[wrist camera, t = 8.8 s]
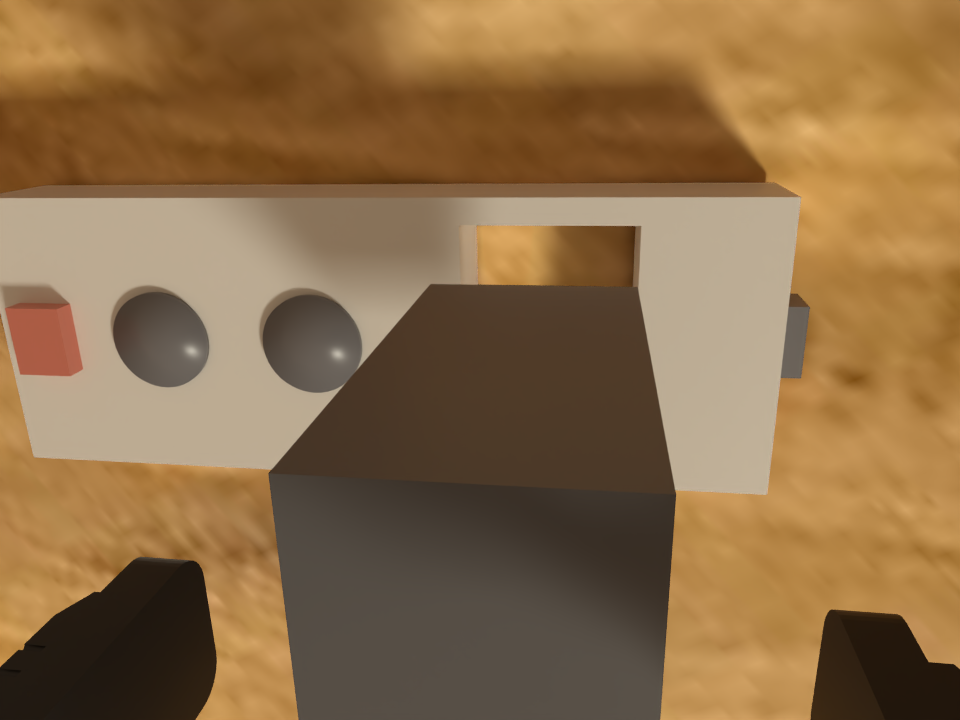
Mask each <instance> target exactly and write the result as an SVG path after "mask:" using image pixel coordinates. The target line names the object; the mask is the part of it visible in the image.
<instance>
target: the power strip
mask: <svg viewBox="0 0 960 720" xmlns="http://www.w3.org/2000/svg"><path fill="white" fill-rule="evenodd" d="M800 203H801V197H800V196H798V195H796V194H794V193H793V192H791V191H789V190H787V189H786V188H784V187H782V186H780V185H778V184H777V183H515V184H253V185H44V186H39V187H33V188H28V189H22V190H17V191H11V192H5V193H0V313H1V318H2V322H3V326H4V331H5V335H6V339H7V343H8V348H9V352H10V356H11V361H12V365H13V369H14V374H15V378H16V382H17V387H18V391H19V395H20V399H21V404H22V408H23V412H24V417H25V421H26V425H27V430H28V434H29V438H30V442H31V447H32V451H33V455H34V457H39V458H59V459H79V460H98V461H118V462H137V463H157V464H176V465H196V466H215V467H235V468H254V469H273V467H274V466H275V465H276V464H277V463H278V462H279V460H280V459H281V458H282V457H283V456H284V455H285V453H286V452H287V451H288V450H289V449H290V448H291V446H292V445H293V444H294V443H295V442H296V441H297V439H298V438H299V437H300V436H301V435H302V434H303V432H304V431H305V430H306V429H307V428H308V427H309V425H310V424H311V423H312V422H313V421H314V420H315V418H316V417H317V416H318V415H319V414H320V413H321V411H322V410H323V409H324V408H325V407H326V406H327V404H328V403H329V402H330V401H331V400H332V398H333V397H334V396H335V395H336V394H337V393H338V391H339V390H340V389H341V388H342V387H343V386H344V384H345V383H346V382H347V381H348V380H349V379H350V377H351V376H352V375H353V374H354V373H355V372H356V370H357V369H358V368H359V367H360V366H361V365H362V363H363V362H364V361H365V360H366V359H367V358H368V356H369V355H370V354H371V353H372V352H373V351H374V349H375V348H376V347H377V346H378V345H379V344H380V342H381V341H382V340H383V339H384V338H385V337H386V335H387V334H388V333H389V332H390V331H391V330H392V328H393V327H394V326H395V325H396V324H397V322H398V321H399V320H400V319H401V318H402V317H403V315H404V314H405V313H406V312H407V311H408V310H409V308H410V307H411V306H412V305H413V304H414V303H415V301H416V300H417V299H418V298H419V297H420V296H421V294H422V293H423V292H424V291H425V290H426V289H427V287H428V286H429V285H430V284H469V285H478V267H477V225H521V226H635V248H634V270H633V287H638V291H639V297H640V302H641V307H642V313H643V318H644V324H645V329H646V334H647V340H648V345H649V351H650V356H651V362H652V367H653V372H654V378H655V383H656V389H657V394H658V400H659V405H660V410H661V416H662V421H663V427H664V432H665V438H666V443H667V448H668V454H669V459H670V465H671V470H672V475H673V481H674V486H675V490H683V491H703V492H722V493H742V494H761V495H767V491H768V482H769V474H770V465H771V456H772V447H773V439H774V430H775V421H776V412H777V404H778V395H779V386H780V378H801V374H802V366H803V358H804V350H805V341H806V333H807V325H808V317H809V309H810V307H809V306H808V305H807V304H806V303H805V302H804V301H803V299H802V298H801V297H800V296H799V295H798V294H790V290H791V281H792V272H793V264H794V255H795V246H796V238H797V229H798V220H799V211H800Z"/></svg>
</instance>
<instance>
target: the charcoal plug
mask: <svg viewBox="0 0 960 720" xmlns="http://www.w3.org/2000/svg"><path fill="white" fill-rule="evenodd" d="M268 474H269V482H270V490H271V498H272V506H273V514H274V523H275V531H276V539H277V547H278V555H279V563H280V571H281V579H282V588H283V596H284V604H285V612H286V620H287V628H288V636H289V645H290V653H291V661H292V669H293V677H294V685H295V693H296V701H297V710H298V718H299V720H660V714H661V700H662V686H663V672H664V658H665V643H666V629H667V615H668V601H669V587H670V573H671V559H672V544H673V530H674V516H675V502H676V492H675V486H674V481H673V475H672V470H671V465H670V459H669V454H668V448H667V443H666V438H665V432H664V427H663V421H662V416H661V410H660V405H659V400H658V394H657V389H656V383H655V378H654V372H653V367H652V362H651V356H650V351H649V345H648V340H647V334H646V329H645V324H644V318H643V313H642V307H641V302H640V297H639V291H638V287H603V286H536V285H469V284H430V285H429V286H428V287H427V289H426V290H425V291H424V292H423V293H422V294H421V296H420V297H419V298H418V299H417V300H416V301H415V303H414V304H413V305H412V306H411V307H410V308H409V310H408V311H407V312H406V313H405V314H404V315H403V317H402V318H401V319H400V320H399V321H398V322H397V324H396V325H395V326H394V327H393V328H392V330H391V331H390V332H389V333H388V334H387V335H386V337H385V338H384V339H383V340H382V341H381V342H380V344H379V345H378V346H377V347H376V348H375V349H374V351H373V352H372V353H371V354H370V355H369V356H368V358H367V359H366V360H365V361H364V362H363V363H362V365H361V366H360V367H359V368H358V369H357V370H356V372H355V373H354V374H353V375H352V376H351V377H350V379H349V380H348V381H347V382H346V383H345V384H344V386H343V387H342V388H341V389H340V390H339V391H338V393H337V394H336V395H335V396H334V397H333V398H332V400H331V401H330V402H329V403H328V404H327V406H326V407H325V408H324V409H323V410H322V411H321V413H320V414H319V415H318V416H317V417H316V418H315V420H314V421H313V422H312V423H311V424H310V425H309V427H308V428H307V429H306V430H305V431H304V432H303V434H302V435H301V436H300V437H299V438H298V439H297V441H296V442H295V443H294V444H293V445H292V446H291V448H290V449H289V450H288V451H287V452H286V453H285V455H284V456H283V457H282V458H281V459H280V460H279V462H278V463H277V464H276V465H275V466H274V467H273V469H272V470H271V471H270V472H269V473H268Z"/></svg>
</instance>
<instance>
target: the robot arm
mask: <svg viewBox="0 0 960 720" xmlns="http://www.w3.org/2000/svg"><path fill="white" fill-rule="evenodd" d="M216 664H217V657H216V649H215V643H214V636H213V630H212V624H211V618H210V612H209V605H208V599H207V593H206V587H205V581H204V575H203V572H202V569H201V567H200V565H199V564H198V563H197V562H195V561H190V560H177V559H163V558H150V557H139V558H137V559H135V560H133V561H132V562H131V563H130V564H129V565H128V566H127V567H126V568H125V569H124V570H123V571H122V572H120V573H119V574H118V575H117V576H116V577H115V578H114V579H113V580H112V581H111V582H110V583H109V584H108V585H107V586H106V587H105V588H104V589H103V590H102V591H101V592H94V593H92V594H90V595H89V596H87V597H85V598H83V599H82V600H80V601H78V602H77V603H75V604H73V605H71V606H70V607H68V608H66V609H65V610H63V611H61V612H59V613H58V614H56V615H55V616H53V617H52V618H51V619H50V620H49V621H48V622H47V623H46V624H45V625H44V626H43V627H42V628H41V629H40V630H39V631H38V632H37V633H36V634H35V635H34V636H32V637H31V638H30V639H29V640H28V641H27V642H26V643H25V646H24V649H23V650H18V651H17V652H16V653H15V654H14V655H13V656H11V657H10V658H9V659H8V660H7V661H6V662H5V663H4V664H3V665H2V666H1V667H0V720H195V719H196V718H197V716H198V715H199V713H200V712H201V710H202V709H203V707H204V705H205V704H206V702H207V700H208V698H209V695H210V693H211V690H212V687H213V683H214V679H215V673H216ZM811 720H960V669H959V668H958V667H956V666H955V665H954V664H943V663H931V662H928V660H927V659H926V657H925V655H924V653H923V652H922V650H921V648H920V646H919V644H918V643H917V641H916V639H915V637H914V635H913V634H912V632H911V630H910V628H909V627H908V625H907V623H906V622H905V620H904V619H903V618H902V617H901V616H900V615H898V614H885V613H871V612H858V611H844V610H830V611H829V612H828V613H827V616H826V618H825V622H824V627H823V634H822V641H821V648H820V655H819V661H818V668H817V675H816V682H815V689H814V696H813V702H812V709H811Z"/></svg>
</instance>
